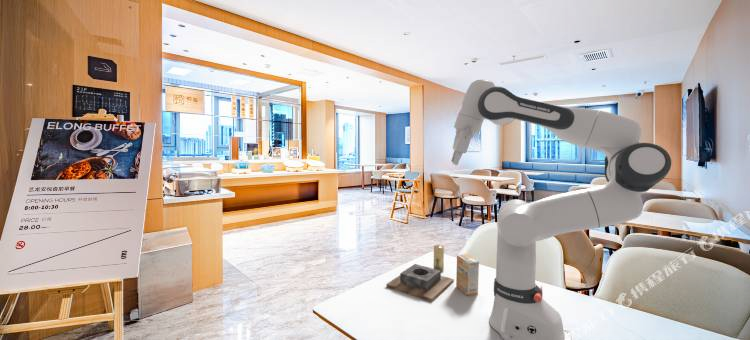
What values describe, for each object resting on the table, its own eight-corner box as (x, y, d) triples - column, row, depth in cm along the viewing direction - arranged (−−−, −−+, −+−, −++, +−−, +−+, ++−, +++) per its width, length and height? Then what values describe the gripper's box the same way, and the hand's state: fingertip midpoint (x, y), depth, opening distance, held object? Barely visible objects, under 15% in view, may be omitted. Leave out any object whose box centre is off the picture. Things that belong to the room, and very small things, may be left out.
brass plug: (445, 269, 138) (445, 246, 137) (441, 273, 134) (441, 249, 133) (436, 267, 141) (436, 244, 140) (431, 270, 137) (432, 247, 136)
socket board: (453, 281, 126) (453, 269, 125) (432, 302, 110) (432, 288, 109) (411, 270, 138) (411, 259, 137) (386, 286, 122) (386, 274, 121)
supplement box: (455, 286, 122) (456, 254, 121) (465, 284, 123) (466, 253, 122) (467, 296, 114) (468, 262, 113) (478, 294, 115) (479, 260, 114)
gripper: (480, 127, 96) (465, 168, 98) (473, 129, 116) (460, 164, 118) (460, 121, 97) (446, 162, 99) (456, 125, 117) (444, 158, 119)
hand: (454, 163), depth 109 cm, fingers open, 8 cm apart
